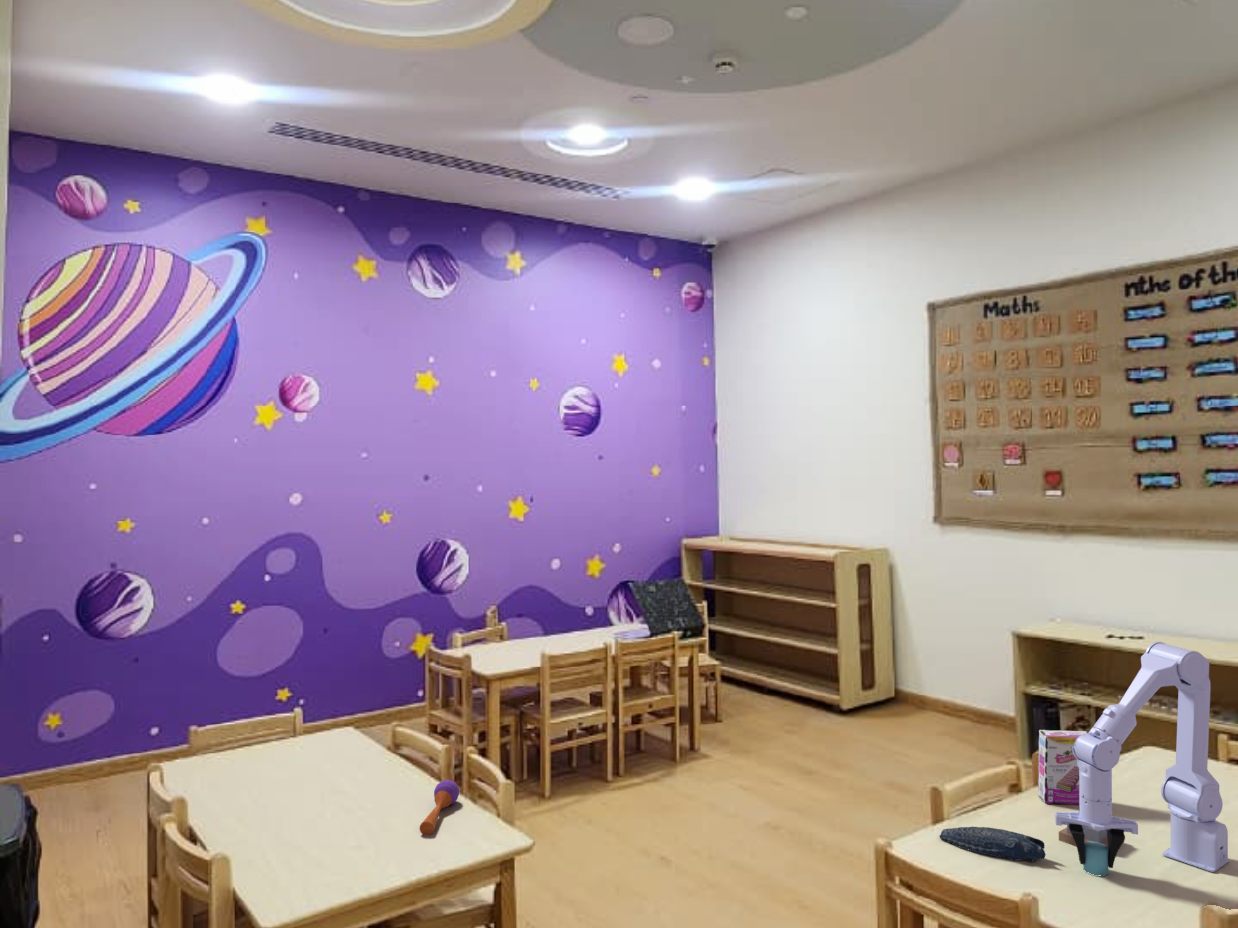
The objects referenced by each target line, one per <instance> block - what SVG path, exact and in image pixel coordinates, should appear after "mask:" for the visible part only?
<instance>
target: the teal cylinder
mask: <svg viewBox="0 0 1238 928" xmlns="http://www.w3.org/2000/svg"><path fill="white" fill-rule="evenodd" d="M1084 857H1085V865H1084V864H1082V865H1083V871H1084V870H1085V871H1086V872H1085V871H1084V872H1085V873H1087V872H1089V873H1091V874H1094V875H1101V876H1100V877H1105V876H1104V875H1107V876H1108V875H1109V866H1108V847H1107V846H1106V845H1104V844H1102V843H1099V842H1093V841H1088V842H1084ZM1091 874H1090V875H1091ZM1094 875H1093V876H1094Z"/></svg>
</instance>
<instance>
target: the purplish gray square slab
mask: <svg viewBox="0 0 1238 928" xmlns="http://www.w3.org/2000/svg"><path fill="white" fill-rule="evenodd" d="M1066 828H1067V833H1069V834H1071V832H1070V829H1069V826H1068V825H1066ZM1082 828H1083V832H1084V835H1085V838H1084V839H1087V840H1090V841H1093V842H1099V843H1100V842H1102V841H1103V840H1105V839H1106V838H1107V830H1106V829H1105V830H1096V829H1093V828H1088V827H1082Z"/></svg>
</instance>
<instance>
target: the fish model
mask: <svg viewBox="0 0 1238 928" xmlns="http://www.w3.org/2000/svg"><path fill="white" fill-rule="evenodd" d="M939 839H940V840H942V839H943V840H942V841H944V842H947V841H948V842H947V843H949V842H950V843H949V844H951V843H953V844H952V845H954V846H956V847H959V846H960V847H959V848H961V849H964V848H965V849H964V850H968V849H969V850H968V851H970V850H971V852H974V853H978V854H985V855H987V856H992V857H1000V858H1005V859H1008V860H1011V861H1021V860H1022V861H1023V860H1027V861H1028V862H1029V863H1033V862H1034V861H1036V860H1040V859H1042V860H1044V859H1046V855H1047V854H1046V852H1045V851H1046V850H1044V849H1046V848H1045V842H1044V841H1043V840H1041V839H1038V838H1035V837H1032V836H1030V835H1026V834H1023V833H1019V832H1015V831H1010V830H1007V829H1006V830H1005V829H1004V828H996V827H995V828H994V827H986V826H960V827H951V828H944V829H942V831H941V833H940V834H939Z"/></svg>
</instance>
